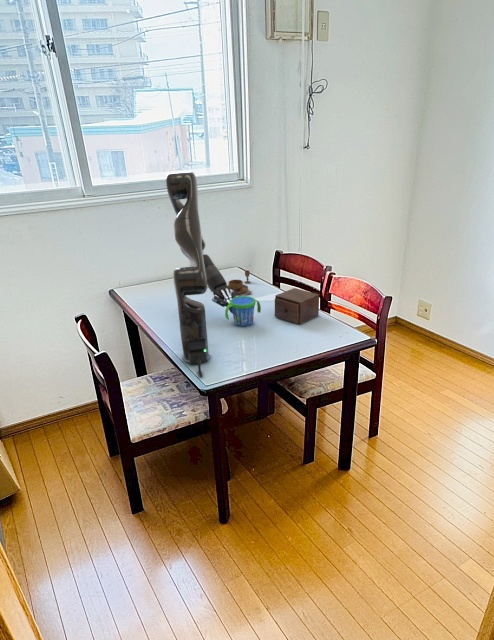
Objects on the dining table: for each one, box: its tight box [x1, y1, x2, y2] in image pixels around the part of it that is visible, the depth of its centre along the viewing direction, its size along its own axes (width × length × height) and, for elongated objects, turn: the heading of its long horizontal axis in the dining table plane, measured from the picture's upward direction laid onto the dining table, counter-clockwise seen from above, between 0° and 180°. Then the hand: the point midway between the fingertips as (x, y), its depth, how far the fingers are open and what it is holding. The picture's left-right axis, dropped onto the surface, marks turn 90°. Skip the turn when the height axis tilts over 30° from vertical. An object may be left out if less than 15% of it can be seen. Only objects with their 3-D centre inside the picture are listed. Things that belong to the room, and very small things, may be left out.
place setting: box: [227, 270, 252, 297], centre depth 244 cm, size 18×20×6 cm
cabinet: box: [274, 287, 320, 325], centre depth 211 cm, size 13×14×10 cm
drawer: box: [274, 298, 299, 324], centre depth 210 cm, size 13×12×8 cm
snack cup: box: [224, 295, 262, 327], centre depth 205 cm, size 16×10×10 cm
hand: (235, 312), depth 209 cm, fingers closed
